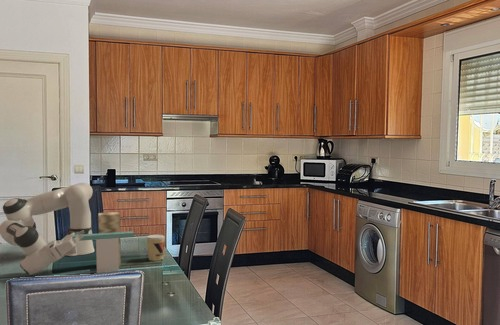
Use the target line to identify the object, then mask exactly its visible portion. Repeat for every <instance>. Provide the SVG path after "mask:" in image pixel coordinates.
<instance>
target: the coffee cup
mask: <svg viewBox="0 0 500 325" xmlns="http://www.w3.org/2000/svg"><path fill="white" fill-rule="evenodd" d="M165 239H166V238H165V235H164V234H150V235H147V236H146V243H147V255H148V260H149V261H162V260H164V256H165ZM161 259H162V260H161Z"/></svg>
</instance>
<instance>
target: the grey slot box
mask: <svg viewBox="0 0 500 325" xmlns="http://www.w3.org/2000/svg"><path fill="white" fill-rule="evenodd" d="M95 243H96V245H95V247H96V249H95V250H96V252H95V253H96V254H95V255H96V274H97V273H100V272H106V271H107V272H109V271H118V270H119V271H120V266H119V242H118V238H112V239H97V240H95Z"/></svg>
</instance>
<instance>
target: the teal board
mask: <svg viewBox="0 0 500 325" xmlns="http://www.w3.org/2000/svg"><path fill="white" fill-rule="evenodd" d="M77 236H78V235H72V237H73V238H75V237H77ZM83 236H84V237H83V238H82V239H80V240H79V241H82V240H92V241H94V240H95V241H96V240H97V239H112V238H120V239H125V238H127V239H128V238H134V237H135V232H134V231H120V232H114V233H99V232H98V233H92V234H83ZM73 238H72V239H73Z"/></svg>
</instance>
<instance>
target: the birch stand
mask: <svg viewBox="0 0 500 325" xmlns="http://www.w3.org/2000/svg"><path fill="white" fill-rule="evenodd" d="M97 215H98V216H97V217H98V218H97V219H98V233H114V232H121V224H120V223H121V218H120V215H121V214H120V211H115V212H113V211H111V212H98V214H97ZM118 242H119V267H121V266H122V263H121V262H122V259H121V238H118Z"/></svg>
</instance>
